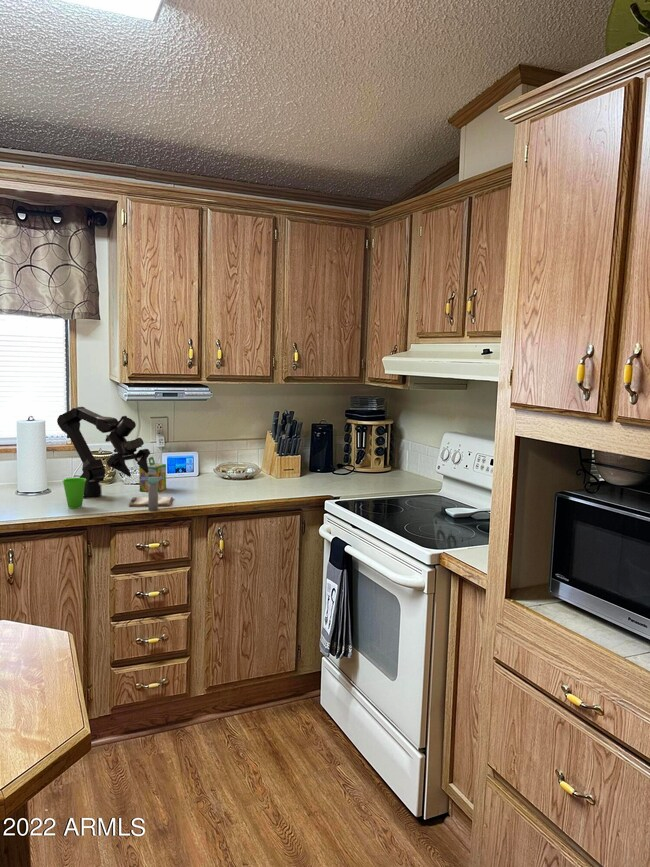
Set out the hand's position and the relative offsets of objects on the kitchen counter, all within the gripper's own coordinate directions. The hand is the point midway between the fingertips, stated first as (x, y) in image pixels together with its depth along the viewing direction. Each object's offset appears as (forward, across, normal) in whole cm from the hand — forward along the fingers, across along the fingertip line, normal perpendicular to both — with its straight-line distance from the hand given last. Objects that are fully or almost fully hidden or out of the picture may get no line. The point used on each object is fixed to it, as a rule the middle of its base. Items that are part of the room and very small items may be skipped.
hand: (139, 474), depth 264 cm
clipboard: (+9, +7, +10) cm, 15 cm away
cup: (-4, -16, +23) cm, 28 cm away
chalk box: (-2, +24, +22) cm, 33 cm away
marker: (+15, -1, +3) cm, 16 cm away
